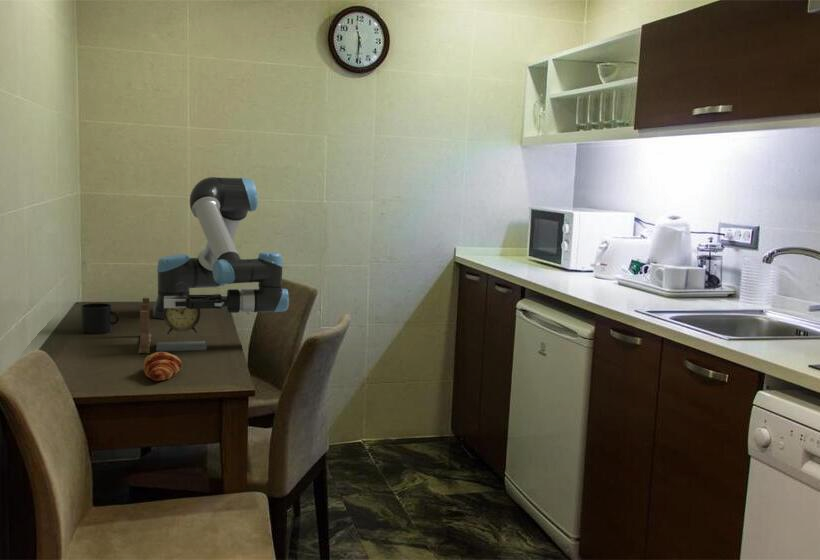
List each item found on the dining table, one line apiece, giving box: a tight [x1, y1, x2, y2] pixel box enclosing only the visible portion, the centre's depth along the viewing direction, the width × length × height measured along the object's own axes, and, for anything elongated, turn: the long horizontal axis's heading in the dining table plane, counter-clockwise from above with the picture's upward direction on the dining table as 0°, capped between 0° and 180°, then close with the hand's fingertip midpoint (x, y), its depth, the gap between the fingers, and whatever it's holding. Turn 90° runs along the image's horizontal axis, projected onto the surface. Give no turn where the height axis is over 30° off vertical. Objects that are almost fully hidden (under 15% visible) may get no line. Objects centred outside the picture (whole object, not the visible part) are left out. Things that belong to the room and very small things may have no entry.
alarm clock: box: [163, 282, 201, 335], centre depth 237 cm, size 11×5×16 cm, turn 114°
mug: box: [80, 302, 120, 335], centre depth 257 cm, size 9×12×9 cm
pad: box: [155, 340, 208, 352], centre depth 239 cm, size 9×15×1 cm, turn 108°
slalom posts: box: [138, 297, 152, 354], centre depth 241 cm, size 26×3×13 cm, turn 18°
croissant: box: [142, 351, 183, 382], centre depth 207 cm, size 21×10×8 cm, turn 14°
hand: (164, 302), depth 235 cm, fingers closed on alarm clock, 5 cm apart
